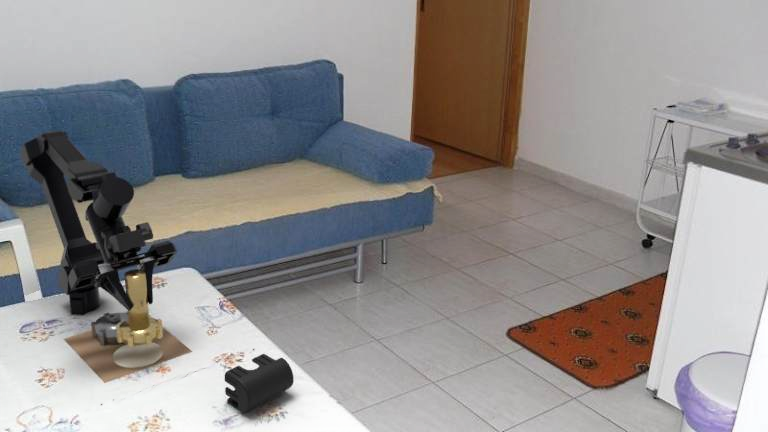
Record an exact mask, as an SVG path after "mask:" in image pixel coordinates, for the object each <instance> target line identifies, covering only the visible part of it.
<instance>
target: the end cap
mask: <svg viewBox="0 0 768 432" xmlns="http://www.w3.org/2000/svg"><path fill="white" fill-rule="evenodd" d="M251 362H253V363H254V364H255V365H257V366H258V367H256V368H255V369H254V368H253V369H246V368H243V367H242V366H240V365H237V366H235V367H233V368H230V369H229V370H227V371H225V373H224V382H226V383H227V384H228V385H230V386H232V387H233V388H234V390H233V389H231V388H230V387H228V386H226V387H225V388H224V389H225V390H224V393H225V395H226V396H227V397H228V398H227V400H226V401H227V402H226V403H227V404H228V405H229V406H230V407H232V408H234V409H235V410H237V411H238V412H240V413H247V412H248V411H250V410H253V408H256V407H258V406H259V405H262V404H263V403H265V402H268V401H269V400H271V399H273V398H274V397H277V396H278V395H280V394H282V393H284V392H286V391H288V390H289V389H291V387H292V386H293V385H294V379H295V378H294V373H293V369H292V367H291V366H290V363H289V362H287V360H285V359H284V358H283V357H280V358H277V359H274V358H272V357H270V356H268V355H267V354H265V353H263V354H262V353H261V354H259V355H257V356H256V357H254V358H252V359H251Z"/></svg>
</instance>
